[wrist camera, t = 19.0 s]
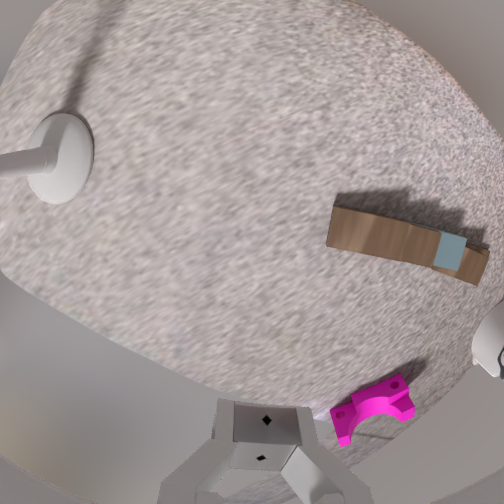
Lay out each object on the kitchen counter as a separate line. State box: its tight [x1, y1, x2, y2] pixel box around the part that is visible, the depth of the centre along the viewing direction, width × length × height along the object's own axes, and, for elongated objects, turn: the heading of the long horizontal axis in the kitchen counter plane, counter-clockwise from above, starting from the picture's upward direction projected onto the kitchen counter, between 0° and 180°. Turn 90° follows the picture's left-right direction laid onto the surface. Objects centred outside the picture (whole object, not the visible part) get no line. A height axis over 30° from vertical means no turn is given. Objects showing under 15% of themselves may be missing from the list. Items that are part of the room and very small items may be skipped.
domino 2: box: [401, 223, 442, 268], centre depth 34 cm, size 2×5×10 cm
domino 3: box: [408, 221, 467, 271], centre depth 35 cm, size 2×5×10 cm
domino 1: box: [326, 205, 410, 262], centre depth 34 cm, size 2×5×10 cm
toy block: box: [330, 374, 415, 447], centre depth 44 cm, size 15×6×8 cm, turn 111°
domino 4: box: [432, 246, 489, 286], centre depth 36 cm, size 2×5×10 cm
